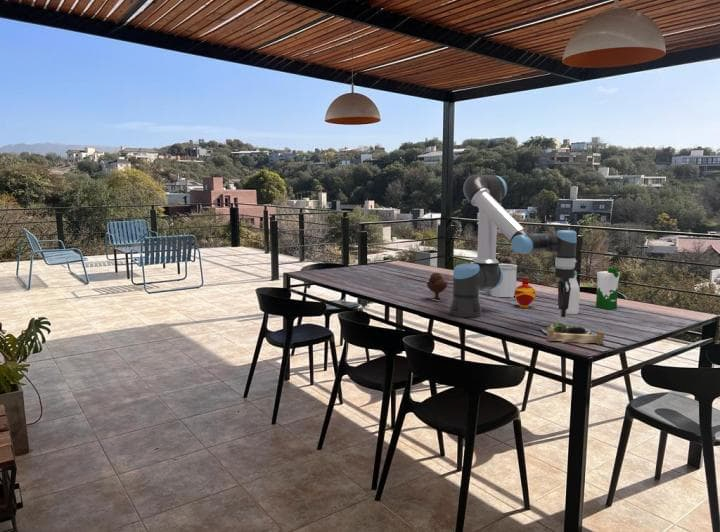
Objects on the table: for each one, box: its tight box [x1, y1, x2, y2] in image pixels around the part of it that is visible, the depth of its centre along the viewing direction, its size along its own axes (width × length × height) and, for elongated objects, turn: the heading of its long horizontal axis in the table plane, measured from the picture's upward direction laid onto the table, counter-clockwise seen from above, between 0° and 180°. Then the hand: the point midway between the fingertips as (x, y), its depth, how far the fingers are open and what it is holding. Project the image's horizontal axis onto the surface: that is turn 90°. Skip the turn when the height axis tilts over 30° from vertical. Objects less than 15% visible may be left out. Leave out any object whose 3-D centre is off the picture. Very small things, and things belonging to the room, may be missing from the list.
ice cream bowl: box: [426, 272, 448, 300], centre depth 267 cm, size 11×11×15 cm
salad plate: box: [536, 322, 592, 335], centre depth 199 cm, size 19×18×5 cm
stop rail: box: [546, 329, 605, 345], centre depth 186 cm, size 19×3×4 cm, turn 80°
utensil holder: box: [489, 263, 518, 298], centre depth 281 cm, size 15×15×18 cm
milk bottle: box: [566, 270, 580, 315], centre depth 236 cm, size 8×8×20 cm
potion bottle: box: [514, 276, 537, 309], centre depth 251 cm, size 10×10×15 cm
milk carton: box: [595, 267, 621, 310], centre depth 249 cm, size 9×9×20 cm
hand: (562, 324), depth 208 cm, fingers closed
